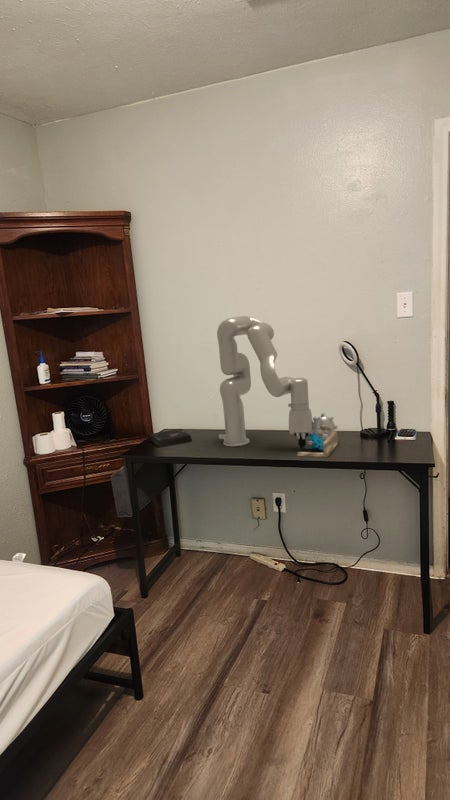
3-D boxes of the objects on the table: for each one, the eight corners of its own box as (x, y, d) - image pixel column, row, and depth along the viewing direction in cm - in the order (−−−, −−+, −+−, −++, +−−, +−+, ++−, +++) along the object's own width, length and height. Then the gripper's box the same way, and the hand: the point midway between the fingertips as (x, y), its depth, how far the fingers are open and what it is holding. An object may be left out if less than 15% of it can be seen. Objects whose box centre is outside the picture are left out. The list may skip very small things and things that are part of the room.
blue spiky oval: (321, 450, 218) (306, 432, 222) (312, 458, 221) (297, 441, 225) (332, 446, 227) (318, 429, 231) (323, 455, 230) (309, 438, 233)
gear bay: (297, 456, 219) (296, 442, 218) (308, 443, 237) (308, 430, 236) (327, 457, 213) (326, 443, 212) (337, 443, 231) (336, 431, 230)
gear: (310, 442, 237) (308, 414, 235) (311, 440, 240) (310, 413, 238) (337, 443, 232) (335, 414, 230) (338, 441, 235) (337, 413, 233)
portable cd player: (192, 442, 257) (191, 434, 257) (159, 448, 252) (158, 440, 251) (182, 435, 273) (181, 428, 272) (151, 441, 267) (150, 434, 266)
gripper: (281, 408, 224) (283, 448, 227) (314, 408, 218) (316, 450, 221) (286, 404, 231) (288, 444, 234) (319, 404, 225) (321, 445, 228)
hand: (302, 446), depth 228 cm, fingers closed
